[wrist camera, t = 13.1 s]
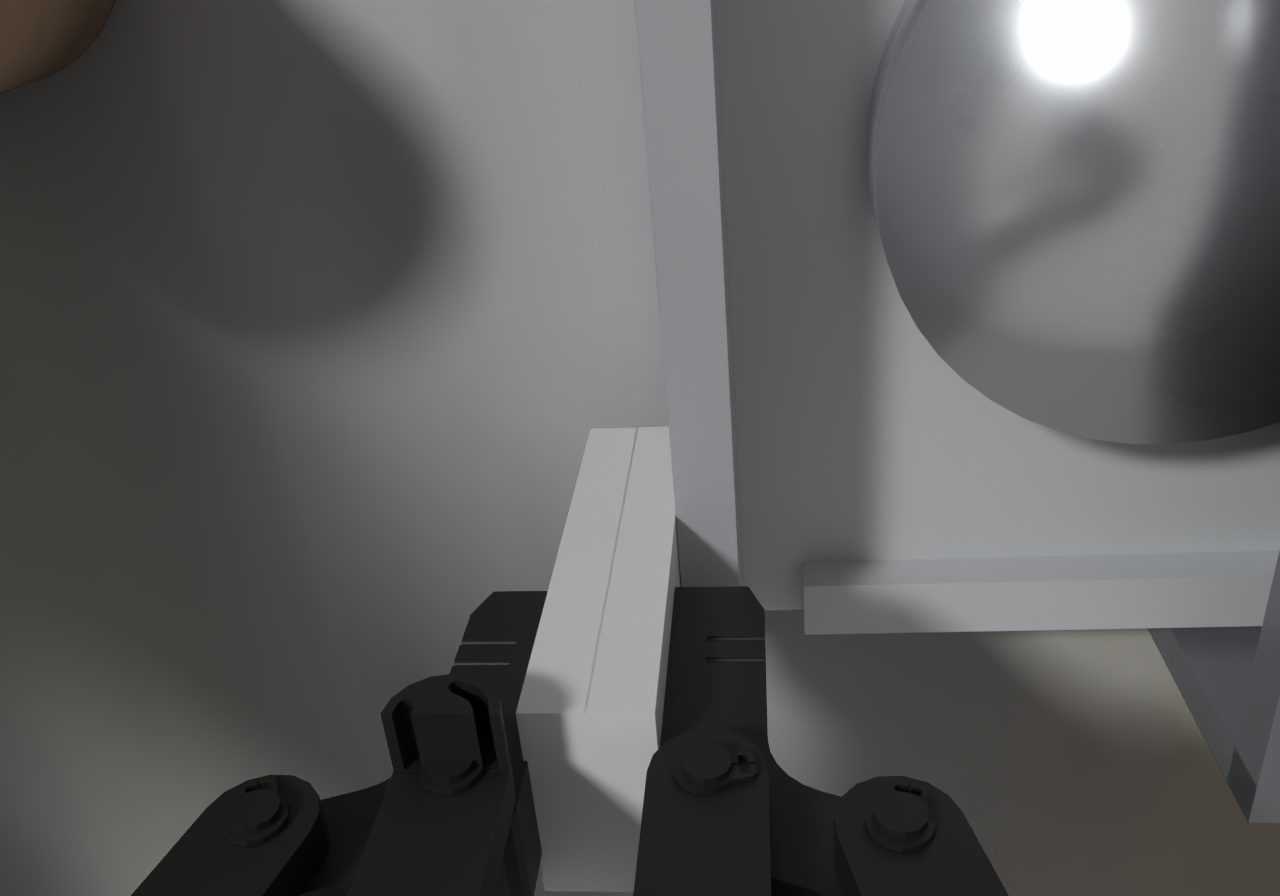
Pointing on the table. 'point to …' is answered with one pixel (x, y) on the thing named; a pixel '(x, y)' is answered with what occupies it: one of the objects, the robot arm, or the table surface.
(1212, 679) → the housing
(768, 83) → the tray
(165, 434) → the table surface
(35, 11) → the brown rounded cylinder
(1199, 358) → the disc
